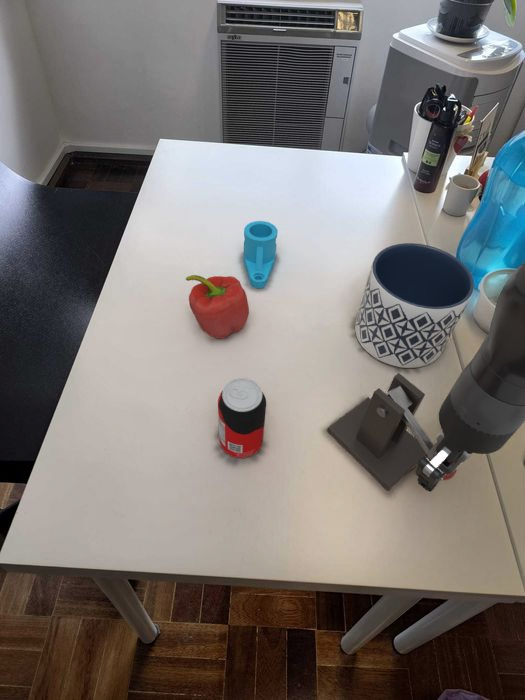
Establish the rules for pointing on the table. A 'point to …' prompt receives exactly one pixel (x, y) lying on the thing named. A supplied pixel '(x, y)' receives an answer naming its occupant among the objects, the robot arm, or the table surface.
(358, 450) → the grey lever stand
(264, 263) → the bracket
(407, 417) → the tap lever
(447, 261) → the planter
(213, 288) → the vegetable
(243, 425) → the beverage can
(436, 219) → the table surface
